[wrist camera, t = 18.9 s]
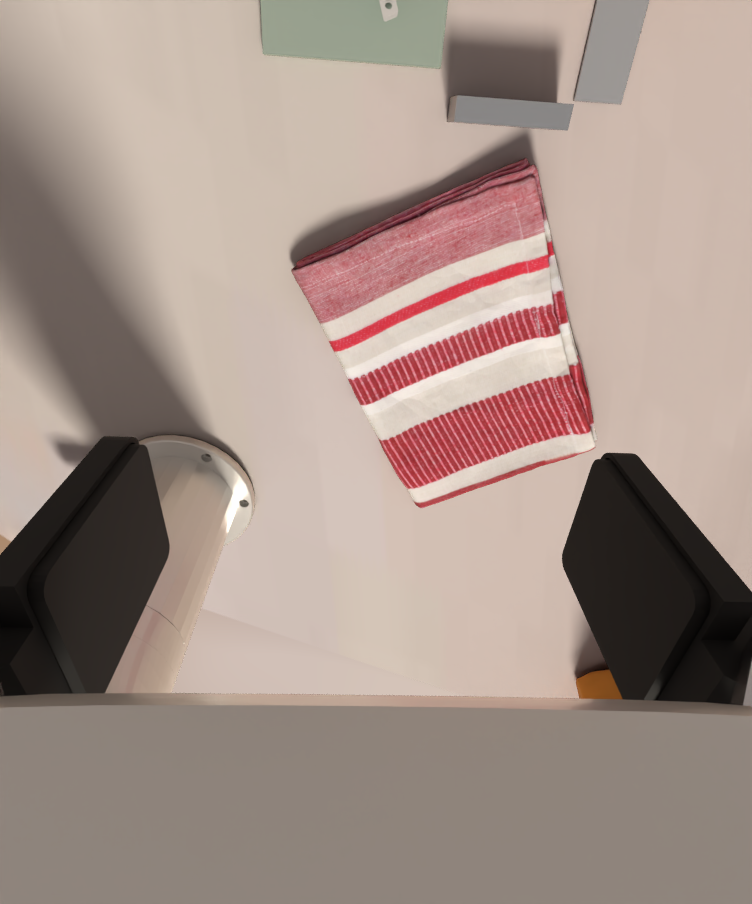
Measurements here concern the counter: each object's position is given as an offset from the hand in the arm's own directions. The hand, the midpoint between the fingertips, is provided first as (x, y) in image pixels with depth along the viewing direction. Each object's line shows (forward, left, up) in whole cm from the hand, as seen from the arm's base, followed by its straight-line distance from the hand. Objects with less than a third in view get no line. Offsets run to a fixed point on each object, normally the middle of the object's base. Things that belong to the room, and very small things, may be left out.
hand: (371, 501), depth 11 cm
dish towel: (+7, -8, -29) cm, 31 cm away
